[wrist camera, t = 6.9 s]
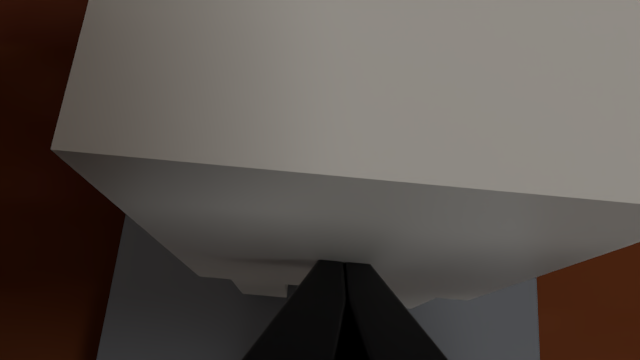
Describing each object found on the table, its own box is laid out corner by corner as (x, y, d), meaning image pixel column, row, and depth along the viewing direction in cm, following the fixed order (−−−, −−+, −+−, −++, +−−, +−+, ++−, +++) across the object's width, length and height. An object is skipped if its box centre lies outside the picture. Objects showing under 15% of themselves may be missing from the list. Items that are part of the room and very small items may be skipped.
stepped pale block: (436, 311, 15) (727, 211, 5) (216, 291, 15) (50, 149, 5) (438, 172, 16) (672, -133, 6) (236, 153, 16) (137, -186, 6)
